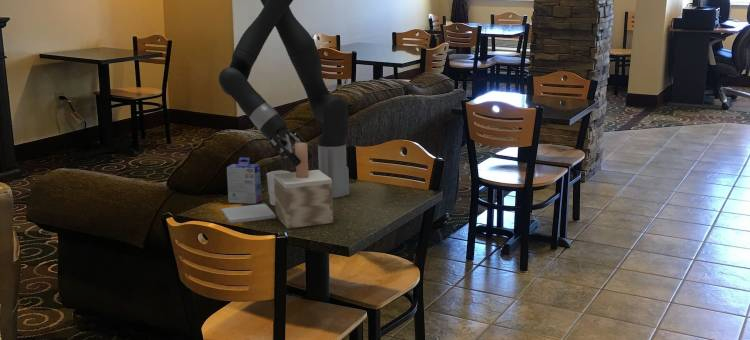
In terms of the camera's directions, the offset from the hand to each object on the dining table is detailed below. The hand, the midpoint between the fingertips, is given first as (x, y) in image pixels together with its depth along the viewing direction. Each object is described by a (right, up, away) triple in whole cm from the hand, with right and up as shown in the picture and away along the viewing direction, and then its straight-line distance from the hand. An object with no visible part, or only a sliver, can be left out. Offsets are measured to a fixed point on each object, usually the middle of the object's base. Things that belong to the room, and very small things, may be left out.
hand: (305, 161), depth 240 cm
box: (-1, -18, +4) cm, 18 cm away
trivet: (-18, -16, +10) cm, 27 cm away
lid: (-1, -6, +2) cm, 6 cm away
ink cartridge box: (-22, -13, +26) cm, 36 cm away
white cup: (-10, -14, +23) cm, 28 cm away
